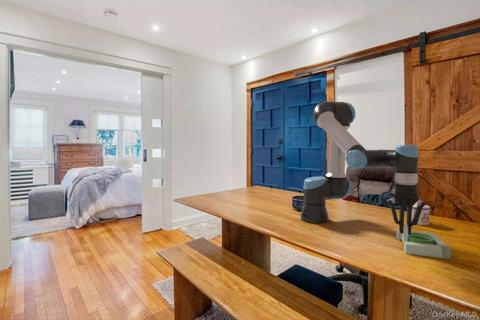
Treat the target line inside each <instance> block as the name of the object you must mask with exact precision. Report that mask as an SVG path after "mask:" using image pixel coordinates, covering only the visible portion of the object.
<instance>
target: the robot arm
mask: <svg viewBox="0 0 480 320" xmlns="http://www.w3.org/2000/svg"><path fill="white" fill-rule="evenodd" d="M312 119H313V121H314V123H315V125H317V126H318V128H322V129H323V130H324V131H325V133H326V134H327V135H328V136H329V150H328V151H329V152H328V172H327V173H326V174H325V176H318V175H317V176H311V177H307V178H305V179H304V181H303V207H302V209H301V212H300V220H301V221H302V222H305V223H311V224H323V223H328V222H329V221H330V215H329V212H328V210H327V205H326V203H327V202H326V200H327V201H328V200H341V199H346V198H348V196H350V195H351V192H352V188H353V187H352V183H351V181H350V179H349V178H348V175H347V174H346V172H345V169H346V164H347V166H348V167H350V168H351V169H369V168H373V169H374V168H392V169H394V168H395V173H394V177H395V178H394V182H395V184H394V194H393V197H392V198H388V199H387V200H386V201H387V203H388V204H389V206H390V211H391V213H392V217H393V222H394V223H395V225H396V224H397V225H398V226H399V229H398V230H399V231H400V233H402V240H401V241H402V242H403V243H404V241H405V242H408V234H411V231H412V227H413V226H418V225H417V223H418V220H419V217H420V214H421V211H422V208H423V207H424V206H425V205H427V203H426V202H425V201H423V200H421V199H420V197H419V196H418V191H419V190H418V182H419V181H418V180H419V179H418V178H419V177H418V176H419V174H418V173H419V157H420V155H419V146H418V145H416V144H397V145H396V146H395V149H366V148H365V147H364V146H363V145H362V144H361V143H360V142H359V141H358V140H357V139H356V138H355V137H354V136H353V135H352V134H351V133H350V131H348V130H349V128H350V126H351V124H352V123H353V122H354V120H355V119H356V108H355V107H354V106H353V105H352V103H350V102H346V101H325V100H324V101H322V102H320V103H318V104H317V105H316V106H314V108H313V112H312ZM416 202H417V208H416V211H415V214H414V217H413V220H412V206H413V205H414V204H415V203H416ZM395 203H397V205H398V206H399V207H398V209H399V214H397V210H396V207H395ZM405 208H406V209H405ZM405 210H406V224H405ZM398 215H399V218H398Z"/></svg>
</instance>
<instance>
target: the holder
mask: <svg viewBox="0 0 480 320" xmlns="http://www.w3.org/2000/svg"><path fill="white" fill-rule="evenodd" d="M411 233H422V234H427V235H430V236H432V237H434V238H435V240H434V244H433V245H432V244H423V243H414V242H405V241H404V242H403V251H404V253H405V254H407V255H408V254H409V255H415V256H424V257H430V258H432V257H433V258H438V259H447V260H451V258H452V249H451V248H450V247H449V245H447V244H446V243H445V242H444V241H443V240H442V239H441V238H440V237H439V236H438V235H437V234H436V233H434V232H427V231H426V232H425V231H414V230H411ZM396 239H397V240H398V241H402V233H400V231H399V229H396Z"/></svg>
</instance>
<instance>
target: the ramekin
mask: <svg viewBox="0 0 480 320" xmlns="http://www.w3.org/2000/svg"><path fill="white" fill-rule="evenodd" d="M434 240H435V238H434V237H432V236H430V235H427V234H422V233H411V234H408V242H414V243H423V244H432V245H433V244H434Z"/></svg>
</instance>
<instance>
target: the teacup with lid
mask: <svg viewBox="0 0 480 320" xmlns="http://www.w3.org/2000/svg"><path fill="white" fill-rule="evenodd" d="M416 208H417V202H416V203H415V204H414V205H413V206H412V220H413V217H414V214H415V211H416ZM430 210H431V207H430V206H429V205H427V204H425V206H424V207H423V208H422V211H421V214H420V217H419V220H418V223H417V225H416V226H429V225H430V214H431V211H430Z"/></svg>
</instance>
